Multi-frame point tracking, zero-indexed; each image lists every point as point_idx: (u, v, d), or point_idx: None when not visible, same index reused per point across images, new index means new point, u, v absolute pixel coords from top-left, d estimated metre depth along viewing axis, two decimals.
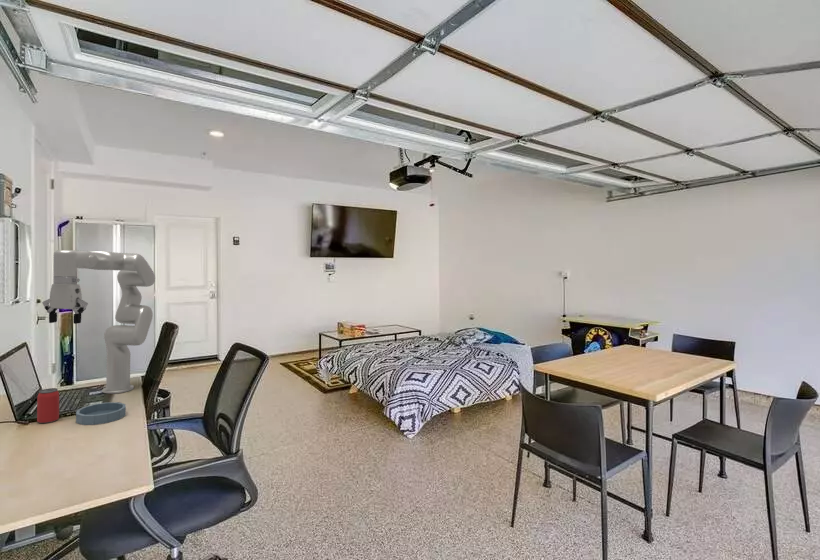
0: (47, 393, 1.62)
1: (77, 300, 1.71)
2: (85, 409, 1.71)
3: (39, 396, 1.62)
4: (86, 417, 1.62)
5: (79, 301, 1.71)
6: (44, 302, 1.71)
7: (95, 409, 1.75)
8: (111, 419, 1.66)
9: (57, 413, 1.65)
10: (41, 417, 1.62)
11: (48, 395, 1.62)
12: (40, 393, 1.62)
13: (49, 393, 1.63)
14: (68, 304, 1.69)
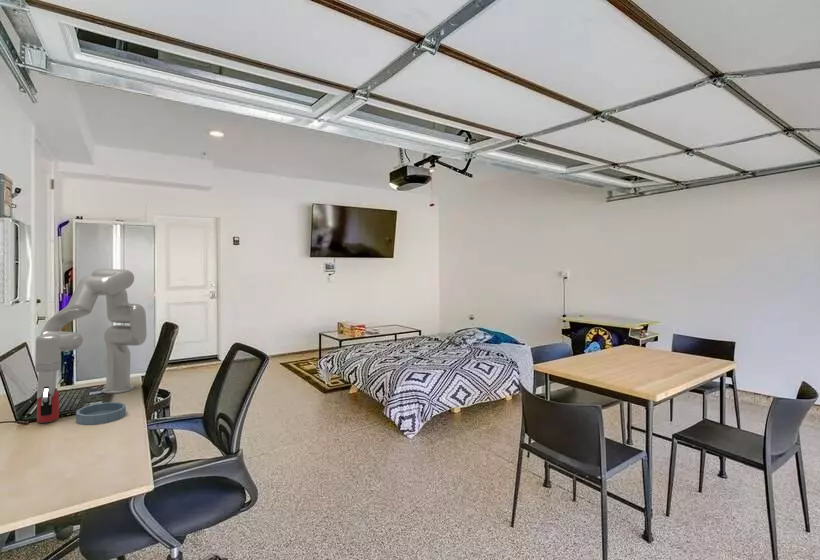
0: None
1: None
2: (85, 409, 1.71)
3: None
4: (86, 417, 1.62)
5: None
6: (47, 396, 1.59)
7: (95, 409, 1.75)
8: (111, 419, 1.66)
9: (57, 413, 1.65)
10: (40, 417, 1.62)
11: (48, 395, 1.63)
12: None
13: None
14: None
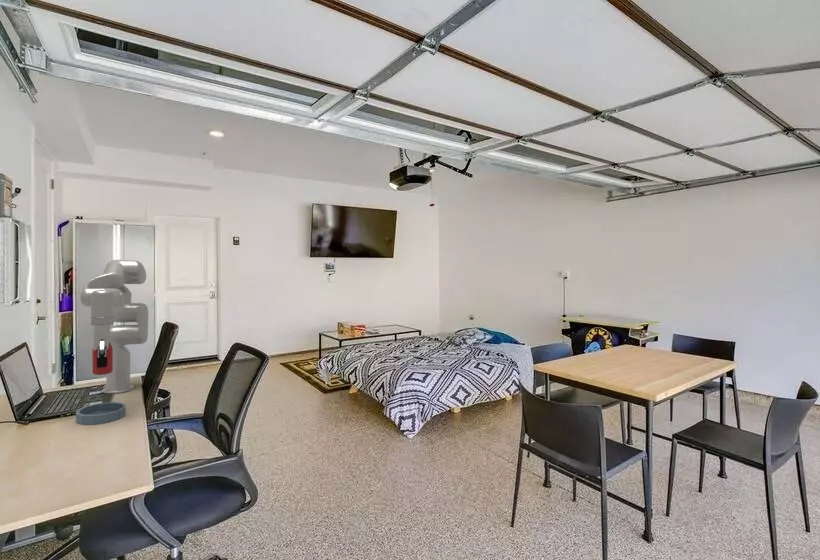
0: None
1: None
2: (85, 409, 1.71)
3: None
4: (86, 417, 1.62)
5: None
6: (103, 348, 1.64)
7: (95, 409, 1.75)
8: (111, 419, 1.66)
9: (111, 366, 1.70)
10: (96, 369, 1.67)
11: None
12: None
13: None
14: None
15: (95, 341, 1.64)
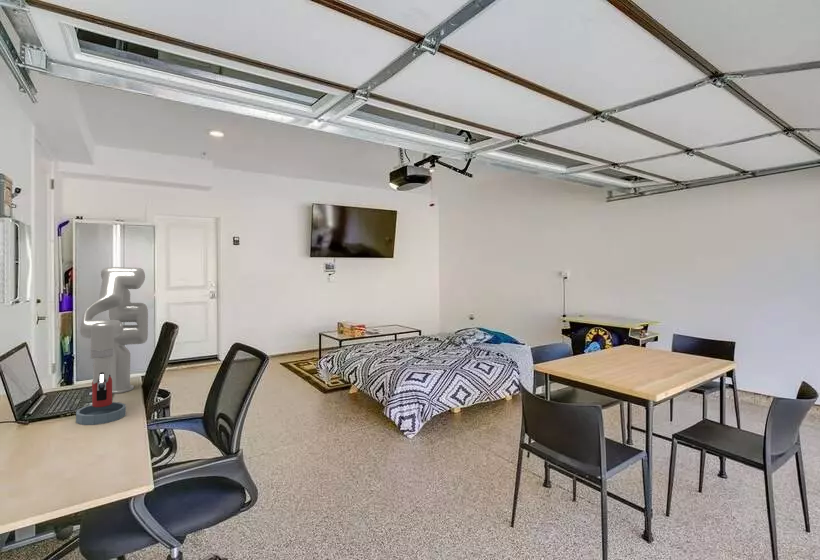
0: None
1: None
2: (85, 409, 1.71)
3: None
4: (86, 417, 1.62)
5: None
6: (103, 382, 1.64)
7: (95, 409, 1.75)
8: (111, 419, 1.66)
9: (111, 398, 1.71)
10: (96, 402, 1.67)
11: None
12: None
13: None
14: None
15: (95, 374, 1.64)
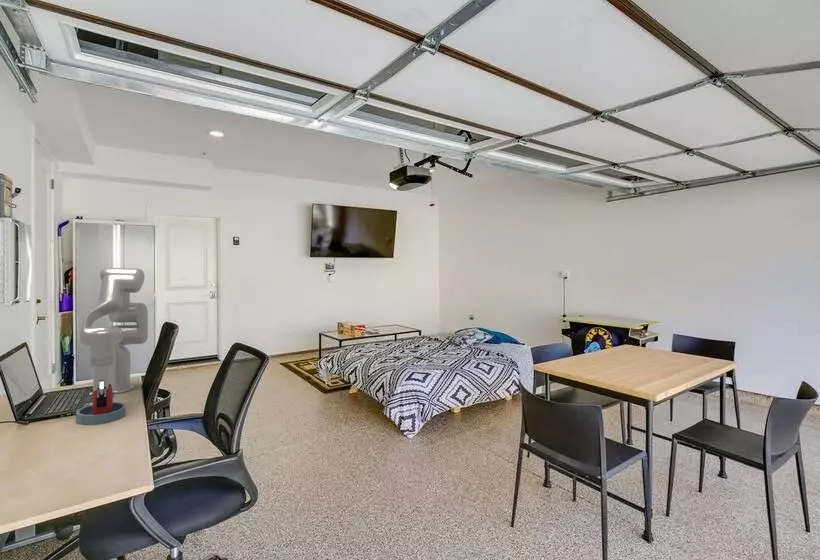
0: None
1: None
2: (85, 409, 1.71)
3: (95, 391, 1.67)
4: (86, 417, 1.62)
5: None
6: (103, 388, 1.64)
7: None
8: (111, 419, 1.66)
9: (111, 408, 1.71)
10: (96, 411, 1.67)
11: None
12: None
13: (104, 388, 1.68)
14: None
15: (95, 382, 1.65)
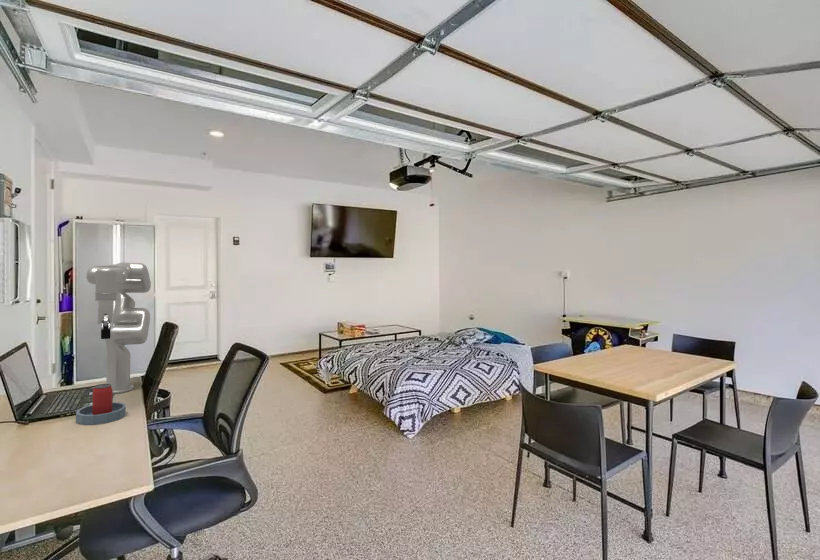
0: (102, 388, 1.68)
1: None
2: (85, 409, 1.71)
3: (94, 391, 1.67)
4: (86, 417, 1.62)
5: None
6: (107, 320, 1.75)
7: None
8: (111, 419, 1.66)
9: (111, 408, 1.71)
10: (96, 411, 1.67)
11: (103, 390, 1.68)
12: (95, 388, 1.68)
13: (104, 388, 1.68)
14: None
15: (99, 315, 1.76)
